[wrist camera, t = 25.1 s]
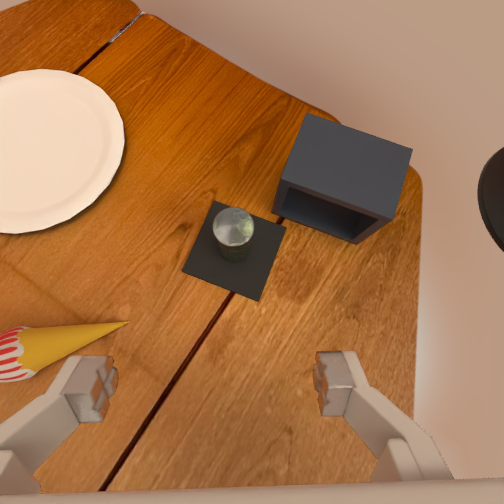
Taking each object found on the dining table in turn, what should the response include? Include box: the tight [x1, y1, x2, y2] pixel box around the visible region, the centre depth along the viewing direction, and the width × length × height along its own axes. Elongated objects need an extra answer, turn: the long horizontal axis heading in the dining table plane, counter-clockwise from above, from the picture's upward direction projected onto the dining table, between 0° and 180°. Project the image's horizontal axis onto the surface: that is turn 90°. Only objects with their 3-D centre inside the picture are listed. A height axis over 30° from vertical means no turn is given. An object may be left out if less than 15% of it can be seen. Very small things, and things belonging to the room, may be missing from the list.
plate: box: [0, 69, 125, 234], centre depth 45 cm, size 29×29×2 cm
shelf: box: [272, 113, 413, 245], centre depth 40 cm, size 14×10×11 cm
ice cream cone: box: [0, 321, 130, 382], centre depth 37 cm, size 6×6×20 cm
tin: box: [213, 207, 254, 264], centre depth 38 cm, size 5×5×10 cm
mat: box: [182, 201, 286, 302], centre depth 43 cm, size 12×12×1 cm
